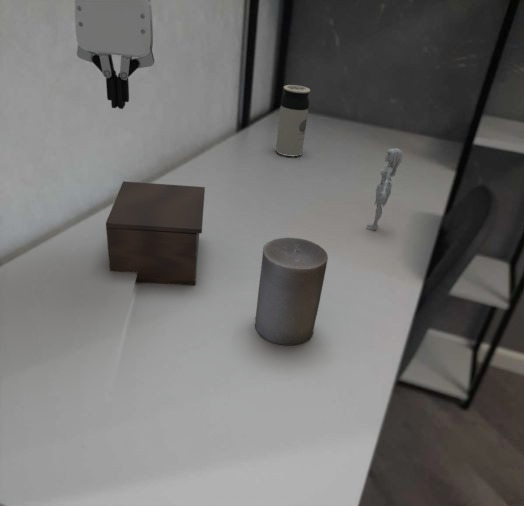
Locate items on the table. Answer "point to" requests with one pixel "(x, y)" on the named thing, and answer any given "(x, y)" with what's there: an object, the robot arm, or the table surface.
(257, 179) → the table surface
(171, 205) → the lid
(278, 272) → the pillar candle
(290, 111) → the travel mug
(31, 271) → the table surface
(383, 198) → the human figurine
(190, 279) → the desk box
